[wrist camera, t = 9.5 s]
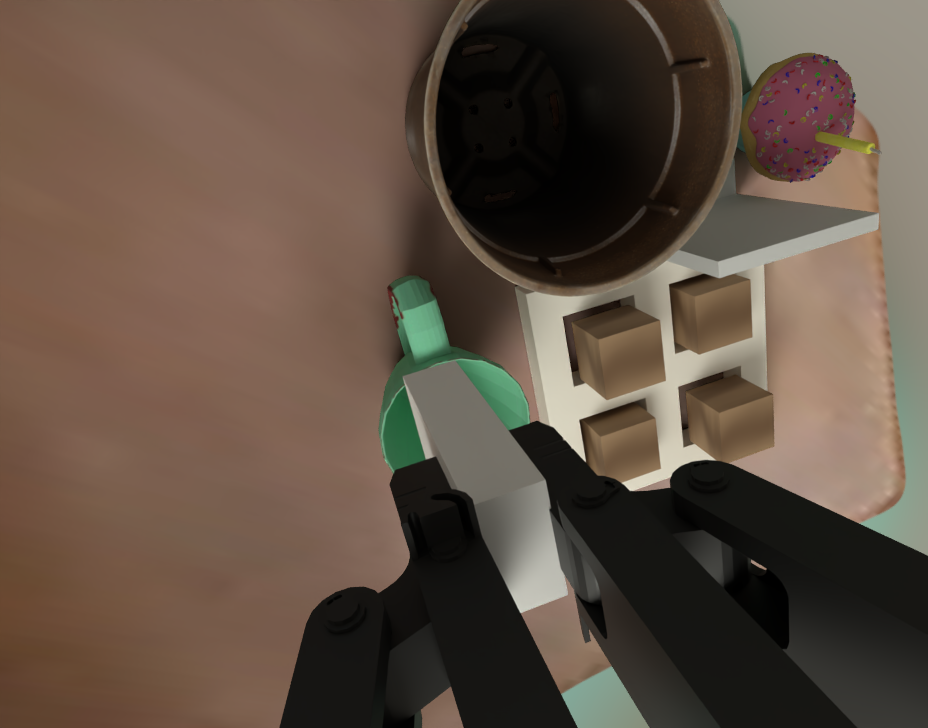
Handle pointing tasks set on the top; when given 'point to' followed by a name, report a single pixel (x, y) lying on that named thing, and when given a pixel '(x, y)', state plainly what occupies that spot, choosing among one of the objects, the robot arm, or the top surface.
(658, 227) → the plant pot
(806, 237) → the card
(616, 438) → the button
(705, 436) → the button
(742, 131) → the cupcake
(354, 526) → the top surface
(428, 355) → the mug
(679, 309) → the button
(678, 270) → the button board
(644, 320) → the button
